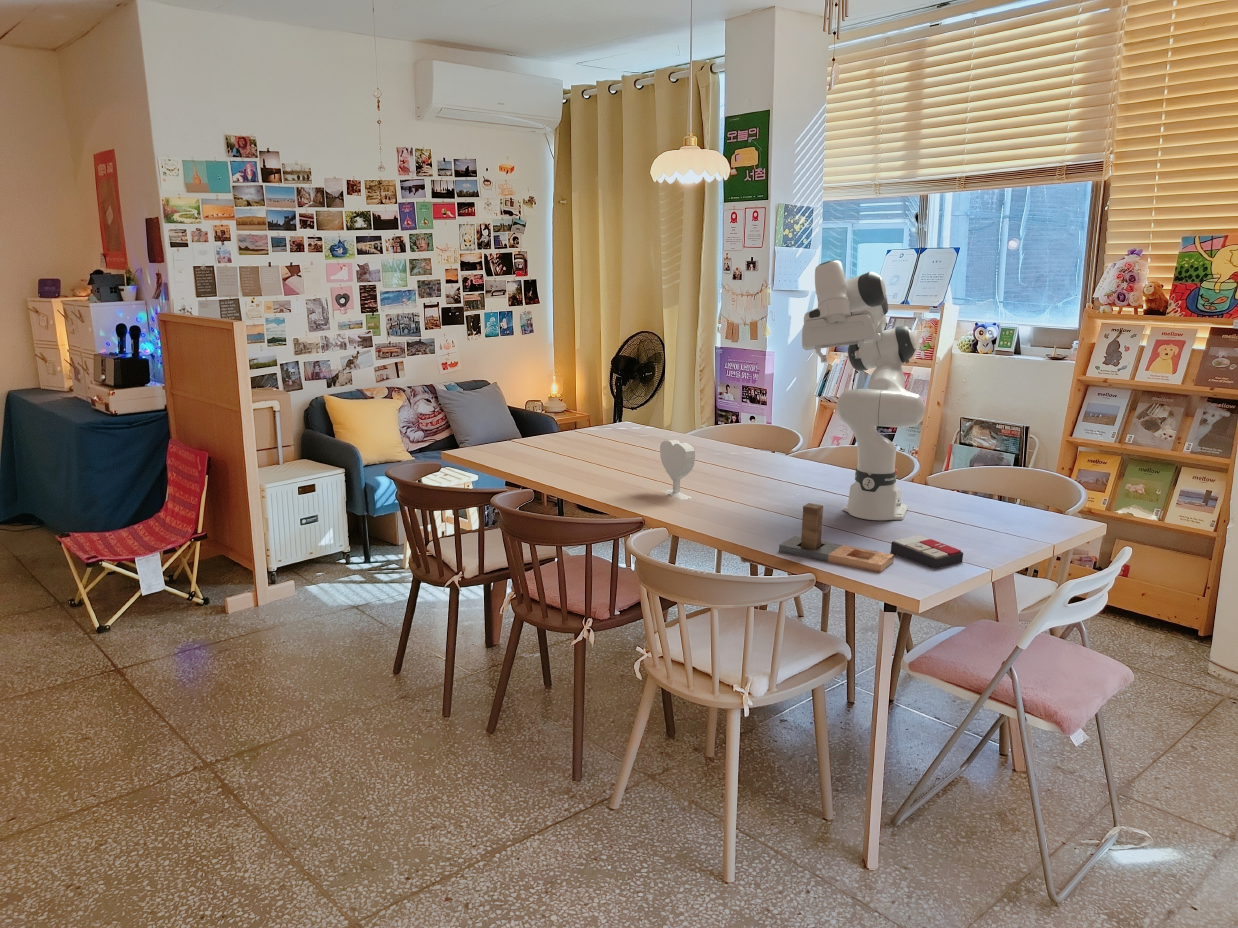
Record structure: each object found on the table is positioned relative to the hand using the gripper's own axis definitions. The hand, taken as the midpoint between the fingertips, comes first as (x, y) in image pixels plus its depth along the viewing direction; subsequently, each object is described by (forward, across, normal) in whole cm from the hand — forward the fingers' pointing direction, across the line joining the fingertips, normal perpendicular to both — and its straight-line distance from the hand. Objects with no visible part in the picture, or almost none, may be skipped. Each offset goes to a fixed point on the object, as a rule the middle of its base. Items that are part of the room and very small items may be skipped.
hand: (841, 360), depth 254 cm
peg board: (+55, +8, 0) cm, 55 cm away
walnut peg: (+53, +15, -3) cm, 55 cm away
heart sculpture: (+23, +54, -50) cm, 77 cm away
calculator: (+57, -15, -5) cm, 59 cm away
